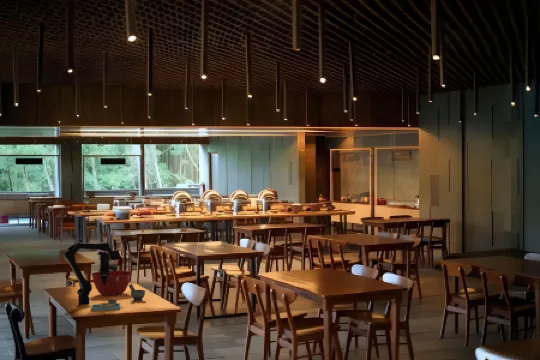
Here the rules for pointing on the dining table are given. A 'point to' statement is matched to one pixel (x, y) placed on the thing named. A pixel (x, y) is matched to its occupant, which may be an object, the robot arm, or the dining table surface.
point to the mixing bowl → (112, 283)
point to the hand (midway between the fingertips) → (104, 284)
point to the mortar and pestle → (136, 293)
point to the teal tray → (98, 308)
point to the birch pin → (108, 305)
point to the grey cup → (112, 301)
